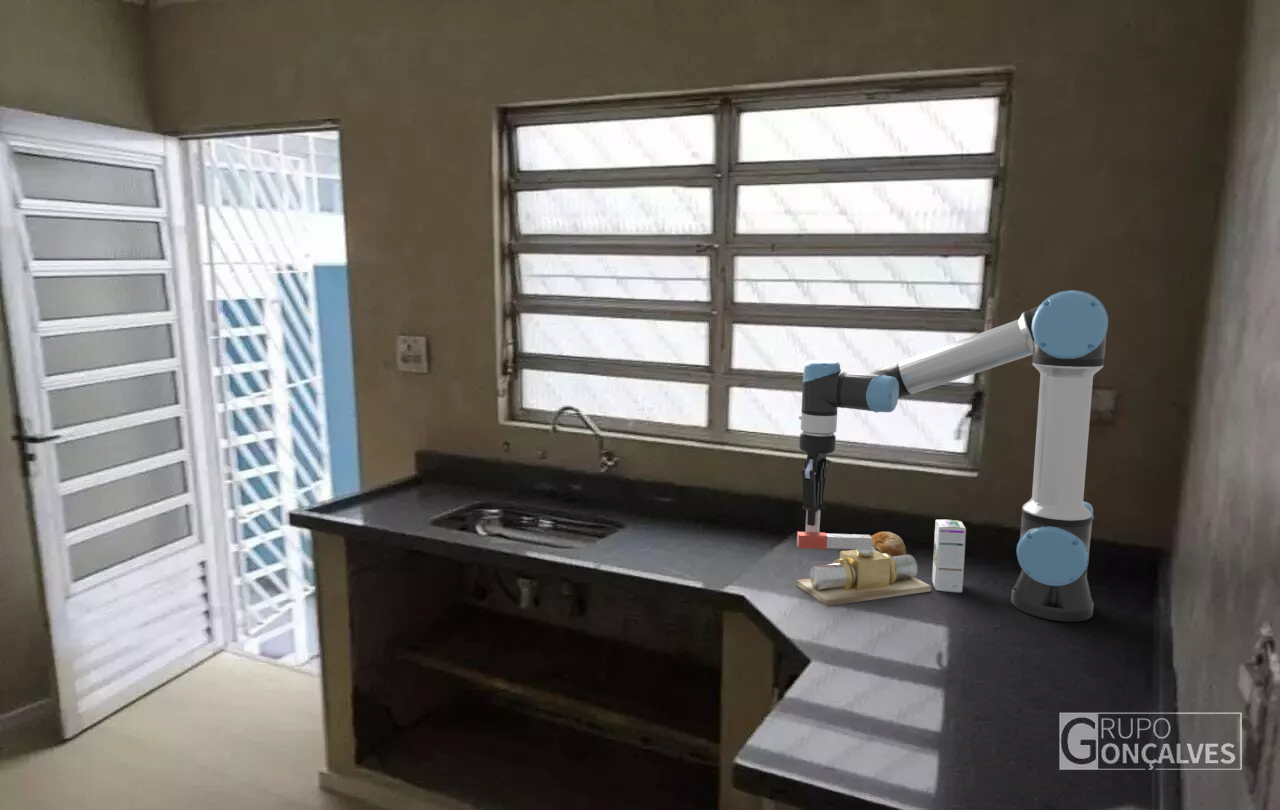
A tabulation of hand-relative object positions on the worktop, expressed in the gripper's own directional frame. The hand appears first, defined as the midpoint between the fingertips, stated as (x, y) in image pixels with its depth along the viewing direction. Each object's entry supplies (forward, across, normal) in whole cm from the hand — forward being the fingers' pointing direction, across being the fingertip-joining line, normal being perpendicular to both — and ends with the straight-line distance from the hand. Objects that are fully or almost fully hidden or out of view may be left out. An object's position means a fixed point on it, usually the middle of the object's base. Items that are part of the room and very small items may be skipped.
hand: (811, 538), depth 180 cm
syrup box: (+10, -13, +27) cm, 31 cm away
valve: (+10, -2, +11) cm, 15 cm away
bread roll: (+11, -26, +10) cm, 30 cm away
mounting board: (+10, -2, +11) cm, 15 cm away
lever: (+2, 0, +5) cm, 6 cm away
